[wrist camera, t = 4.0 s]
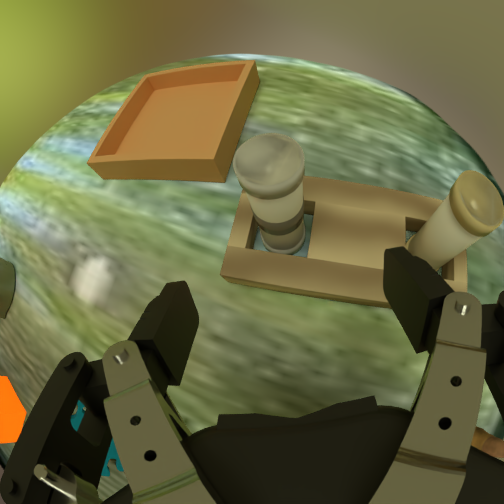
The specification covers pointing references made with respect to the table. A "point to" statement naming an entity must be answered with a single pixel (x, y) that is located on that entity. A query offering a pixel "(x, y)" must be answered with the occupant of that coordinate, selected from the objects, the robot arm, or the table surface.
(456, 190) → the fuse
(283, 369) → the table surface
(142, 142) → the parts tray
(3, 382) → the orange juice
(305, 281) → the fuse block
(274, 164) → the white domed cylinder
